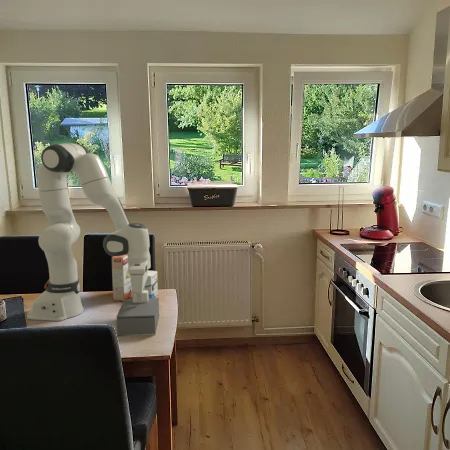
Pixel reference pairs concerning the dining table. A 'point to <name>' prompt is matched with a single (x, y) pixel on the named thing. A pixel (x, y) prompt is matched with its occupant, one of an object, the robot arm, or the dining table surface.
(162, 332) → the dining table surface
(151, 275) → the ink box
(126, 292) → the cracker box
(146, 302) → the lid
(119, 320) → the base
